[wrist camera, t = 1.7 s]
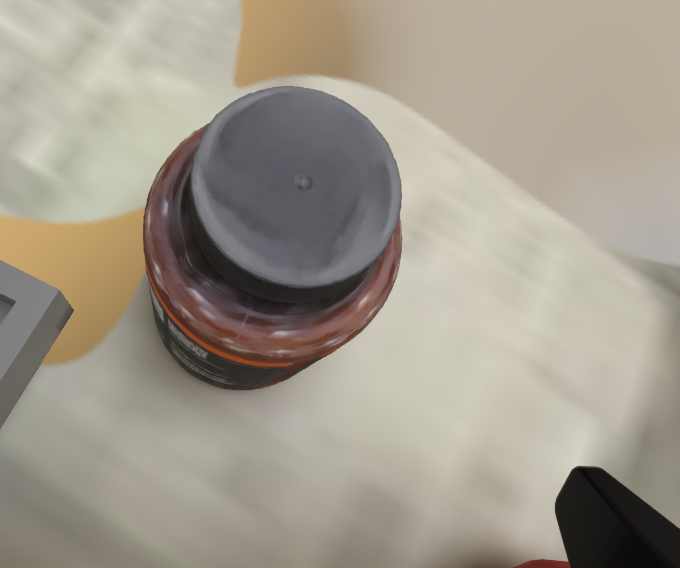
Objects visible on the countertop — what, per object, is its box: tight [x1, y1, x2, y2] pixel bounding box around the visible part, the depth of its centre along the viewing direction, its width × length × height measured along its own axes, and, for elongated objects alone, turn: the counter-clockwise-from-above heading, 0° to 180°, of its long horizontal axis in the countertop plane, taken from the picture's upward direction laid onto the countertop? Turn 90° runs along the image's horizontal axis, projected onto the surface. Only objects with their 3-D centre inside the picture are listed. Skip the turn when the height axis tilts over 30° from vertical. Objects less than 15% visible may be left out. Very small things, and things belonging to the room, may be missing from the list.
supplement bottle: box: [143, 86, 402, 390], centre depth 17 cm, size 6×6×11 cm
